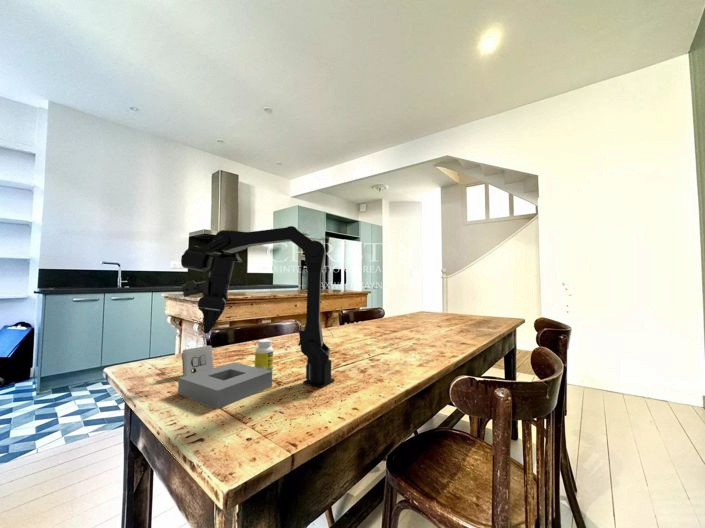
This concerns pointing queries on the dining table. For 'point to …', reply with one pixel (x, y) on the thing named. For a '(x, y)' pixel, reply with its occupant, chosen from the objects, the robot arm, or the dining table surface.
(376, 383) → the dining table surface
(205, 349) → the electrical switch
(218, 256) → the robot arm
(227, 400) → the socket block
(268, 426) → the dining table surface
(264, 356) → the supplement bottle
